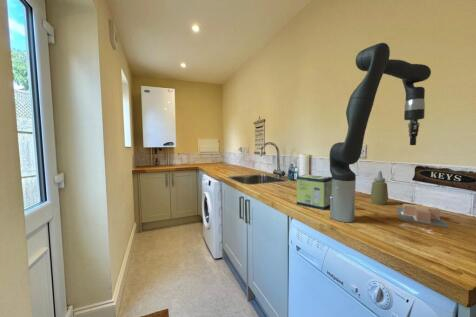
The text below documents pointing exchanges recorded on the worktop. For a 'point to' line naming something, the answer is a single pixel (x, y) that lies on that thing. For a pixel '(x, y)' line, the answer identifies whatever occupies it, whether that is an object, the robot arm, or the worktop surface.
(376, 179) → the squeeze bottle
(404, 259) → the worktop surface
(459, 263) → the worktop surface
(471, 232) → the worktop surface
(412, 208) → the T-block
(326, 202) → the protein box
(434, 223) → the mat
